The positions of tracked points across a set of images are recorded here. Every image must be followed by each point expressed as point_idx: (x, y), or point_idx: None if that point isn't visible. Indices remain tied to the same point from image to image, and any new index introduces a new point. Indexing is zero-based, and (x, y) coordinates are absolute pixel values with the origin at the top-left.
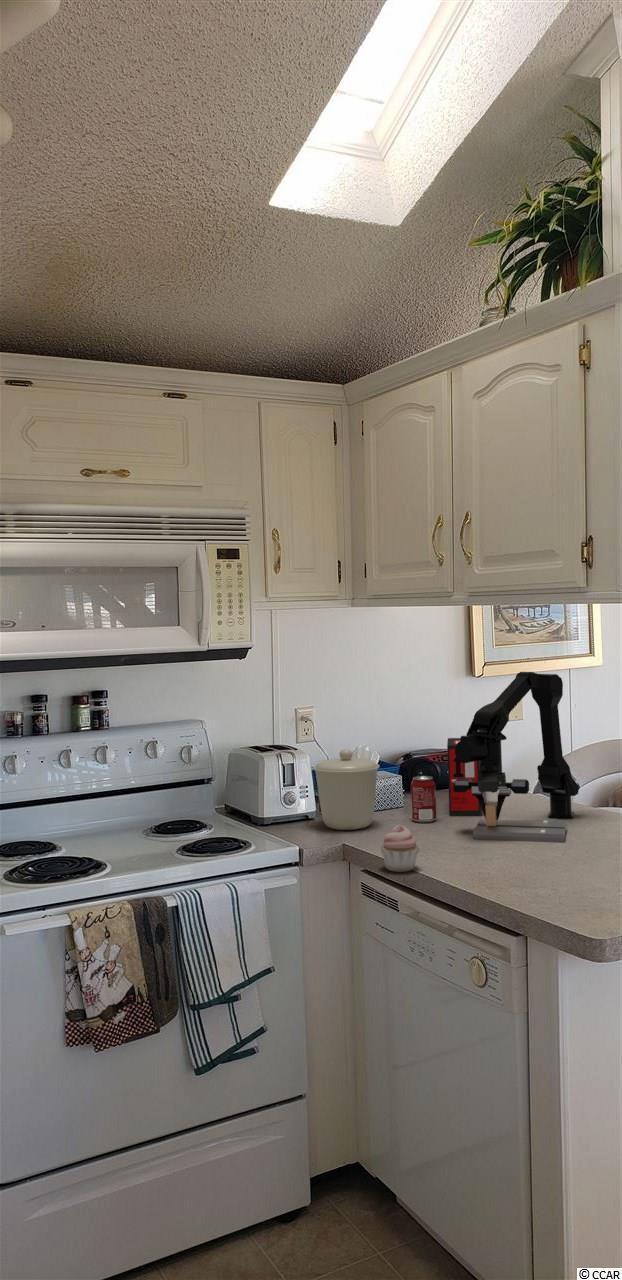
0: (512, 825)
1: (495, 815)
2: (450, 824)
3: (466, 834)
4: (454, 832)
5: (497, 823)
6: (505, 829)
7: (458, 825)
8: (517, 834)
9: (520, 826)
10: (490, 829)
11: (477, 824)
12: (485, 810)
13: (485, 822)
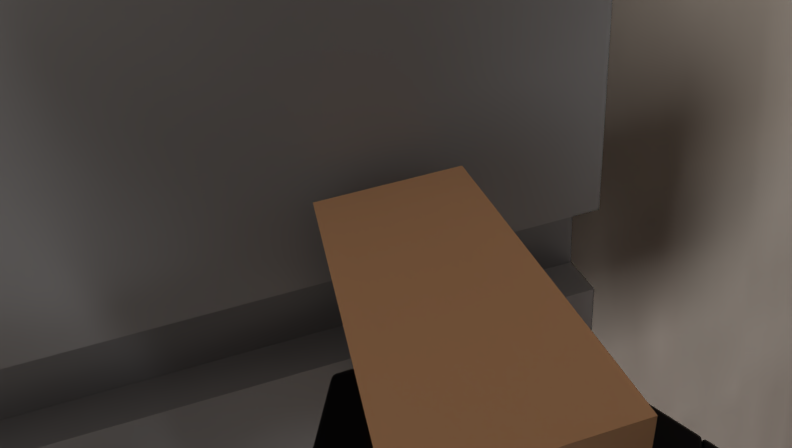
0: (159, 411)
1: (344, 330)
2: (777, 366)
3: (651, 88)
4: (771, 127)
5: None
6: (120, 165)
7: (720, 367)
8: None
9: (53, 433)
10: (357, 69)
11: (587, 287)
12: None
13: None
